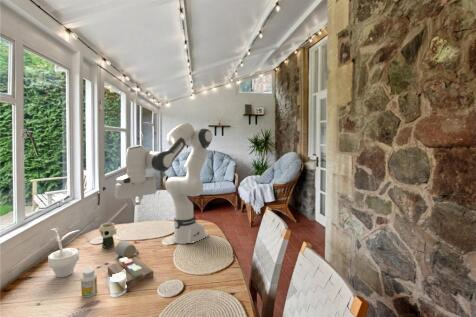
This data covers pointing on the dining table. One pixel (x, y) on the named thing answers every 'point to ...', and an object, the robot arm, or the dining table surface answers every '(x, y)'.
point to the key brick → (127, 263)
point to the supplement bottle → (89, 283)
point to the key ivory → (122, 261)
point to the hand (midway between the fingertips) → (136, 204)
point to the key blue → (130, 268)
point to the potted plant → (63, 257)
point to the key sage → (136, 271)
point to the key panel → (131, 281)
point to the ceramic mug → (125, 249)
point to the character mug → (107, 234)
